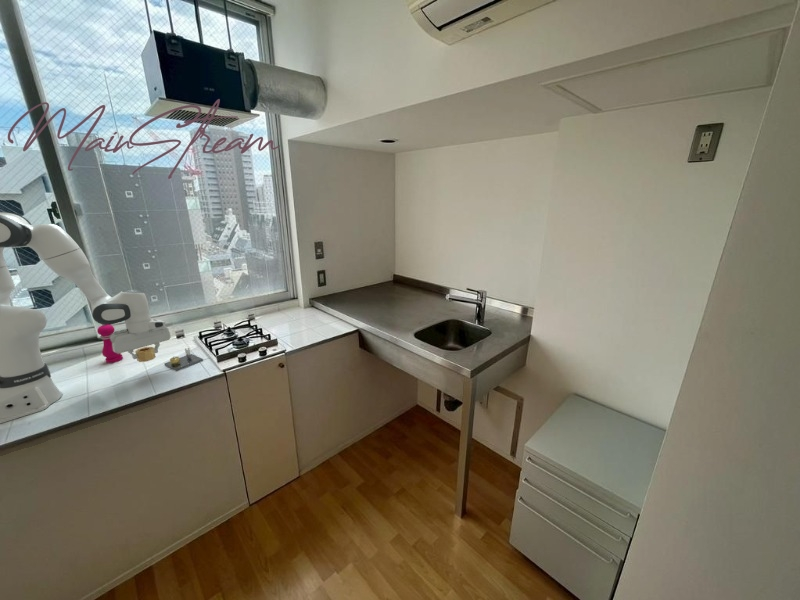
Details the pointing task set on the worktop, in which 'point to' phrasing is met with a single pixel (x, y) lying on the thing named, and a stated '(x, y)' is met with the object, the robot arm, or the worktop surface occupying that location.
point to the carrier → (183, 361)
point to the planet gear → (145, 354)
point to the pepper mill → (108, 344)
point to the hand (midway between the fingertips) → (145, 355)
